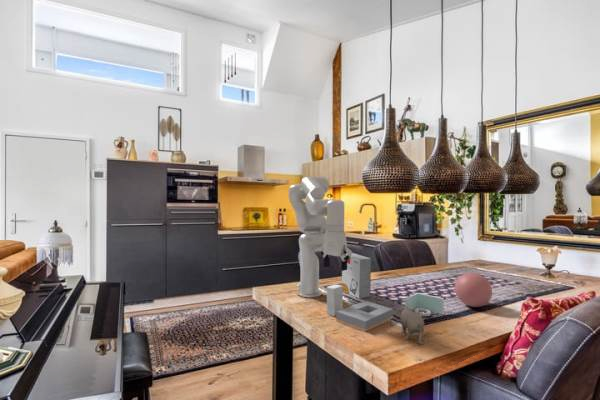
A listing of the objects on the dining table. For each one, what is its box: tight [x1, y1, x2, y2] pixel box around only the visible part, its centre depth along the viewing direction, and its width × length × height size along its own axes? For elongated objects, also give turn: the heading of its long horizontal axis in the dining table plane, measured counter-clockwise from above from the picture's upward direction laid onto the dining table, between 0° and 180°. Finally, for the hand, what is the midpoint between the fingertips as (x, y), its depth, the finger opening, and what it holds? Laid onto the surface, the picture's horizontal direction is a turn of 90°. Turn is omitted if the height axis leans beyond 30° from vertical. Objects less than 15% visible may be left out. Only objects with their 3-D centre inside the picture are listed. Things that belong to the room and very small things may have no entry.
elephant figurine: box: [399, 306, 425, 346], centre depth 122 cm, size 8×14×15 cm
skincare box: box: [326, 284, 344, 317], centre depth 143 cm, size 6×4×12 cm
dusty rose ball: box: [454, 272, 493, 308], centre depth 156 cm, size 15×20×15 cm
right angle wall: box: [404, 292, 445, 316], centre depth 143 cm, size 12×12×8 cm
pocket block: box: [335, 300, 394, 332], centre depth 136 cm, size 14×20×4 cm
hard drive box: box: [341, 252, 372, 299], centre depth 172 cm, size 16×8×20 cm, turn 27°
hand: (335, 268), depth 142 cm, fingers open, 9 cm apart
